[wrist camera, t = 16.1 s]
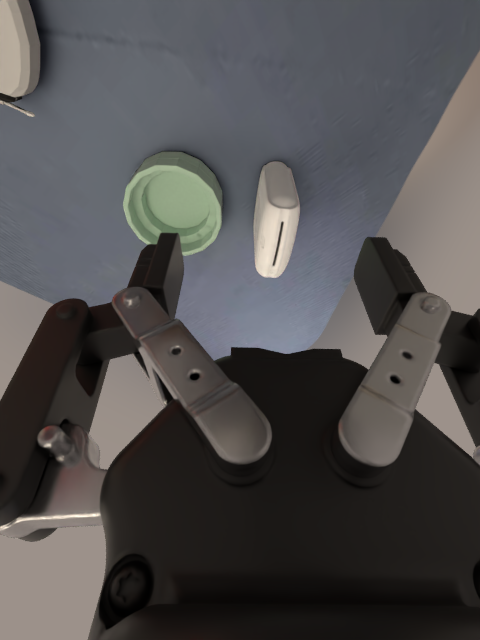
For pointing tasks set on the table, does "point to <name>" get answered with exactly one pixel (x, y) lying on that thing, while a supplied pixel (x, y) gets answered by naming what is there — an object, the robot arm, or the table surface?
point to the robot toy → (18, 52)
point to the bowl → (174, 201)
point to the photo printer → (275, 219)
